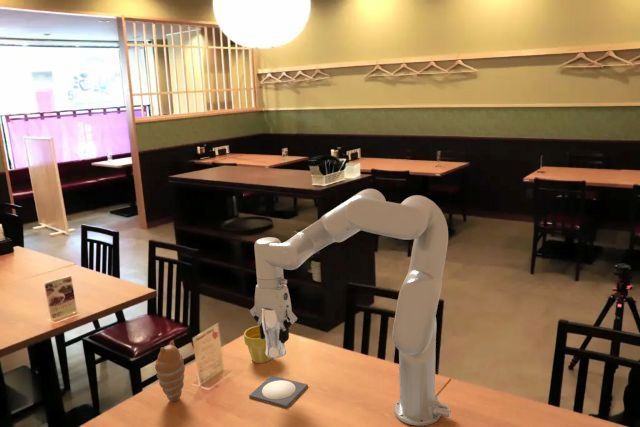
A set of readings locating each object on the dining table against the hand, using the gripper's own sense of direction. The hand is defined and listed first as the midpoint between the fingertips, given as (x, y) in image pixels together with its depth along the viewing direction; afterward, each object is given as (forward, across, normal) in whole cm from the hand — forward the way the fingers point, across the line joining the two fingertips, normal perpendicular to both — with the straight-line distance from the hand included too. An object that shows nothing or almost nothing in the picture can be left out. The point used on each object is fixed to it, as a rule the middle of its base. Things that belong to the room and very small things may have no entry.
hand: (274, 338), depth 153 cm
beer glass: (+5, 0, 0) cm, 5 cm away
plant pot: (+18, +16, -15) cm, 28 cm away
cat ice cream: (+18, +26, +16) cm, 36 cm away
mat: (+17, 0, 0) cm, 17 cm away
